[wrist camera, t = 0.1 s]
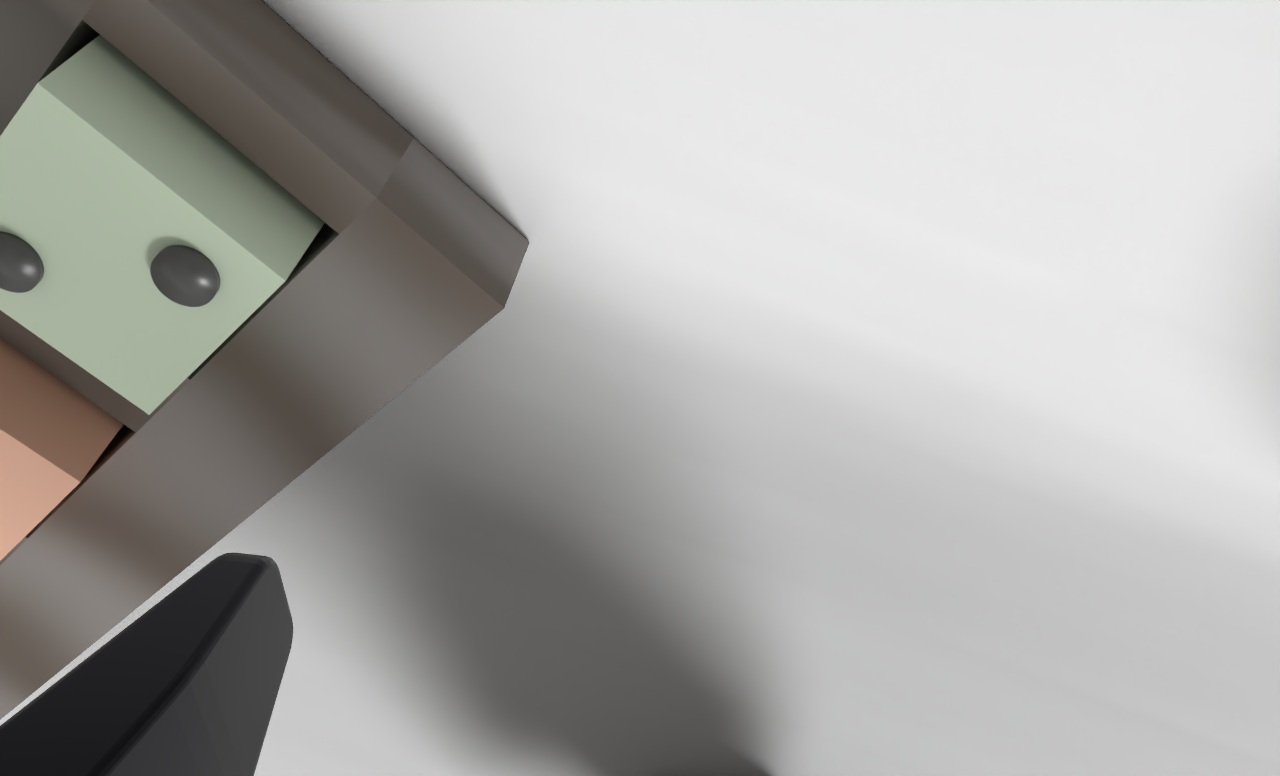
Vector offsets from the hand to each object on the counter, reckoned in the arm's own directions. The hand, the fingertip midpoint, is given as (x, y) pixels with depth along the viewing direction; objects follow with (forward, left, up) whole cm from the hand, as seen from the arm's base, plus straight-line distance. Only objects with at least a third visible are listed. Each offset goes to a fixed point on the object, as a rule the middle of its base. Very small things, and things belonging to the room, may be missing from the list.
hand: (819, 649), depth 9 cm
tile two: (-4, +13, -15) cm, 20 cm away
